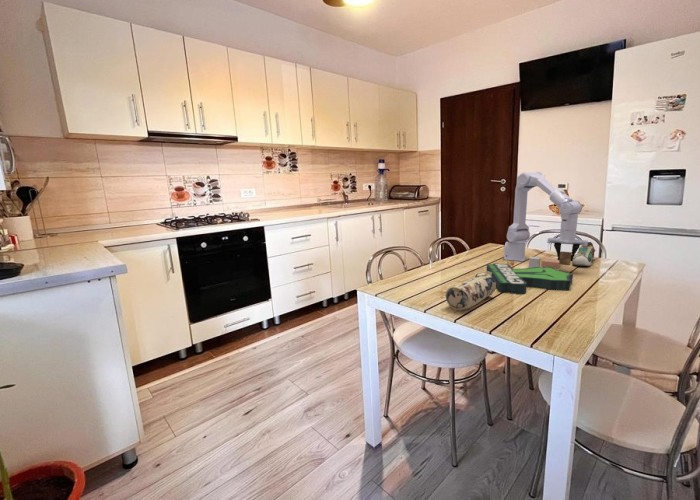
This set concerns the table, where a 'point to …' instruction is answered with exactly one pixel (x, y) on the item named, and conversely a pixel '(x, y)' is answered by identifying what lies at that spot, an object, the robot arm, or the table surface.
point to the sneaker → (584, 255)
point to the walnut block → (565, 258)
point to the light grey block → (534, 262)
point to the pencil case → (471, 291)
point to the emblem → (528, 278)
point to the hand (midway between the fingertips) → (565, 260)
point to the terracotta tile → (550, 263)
